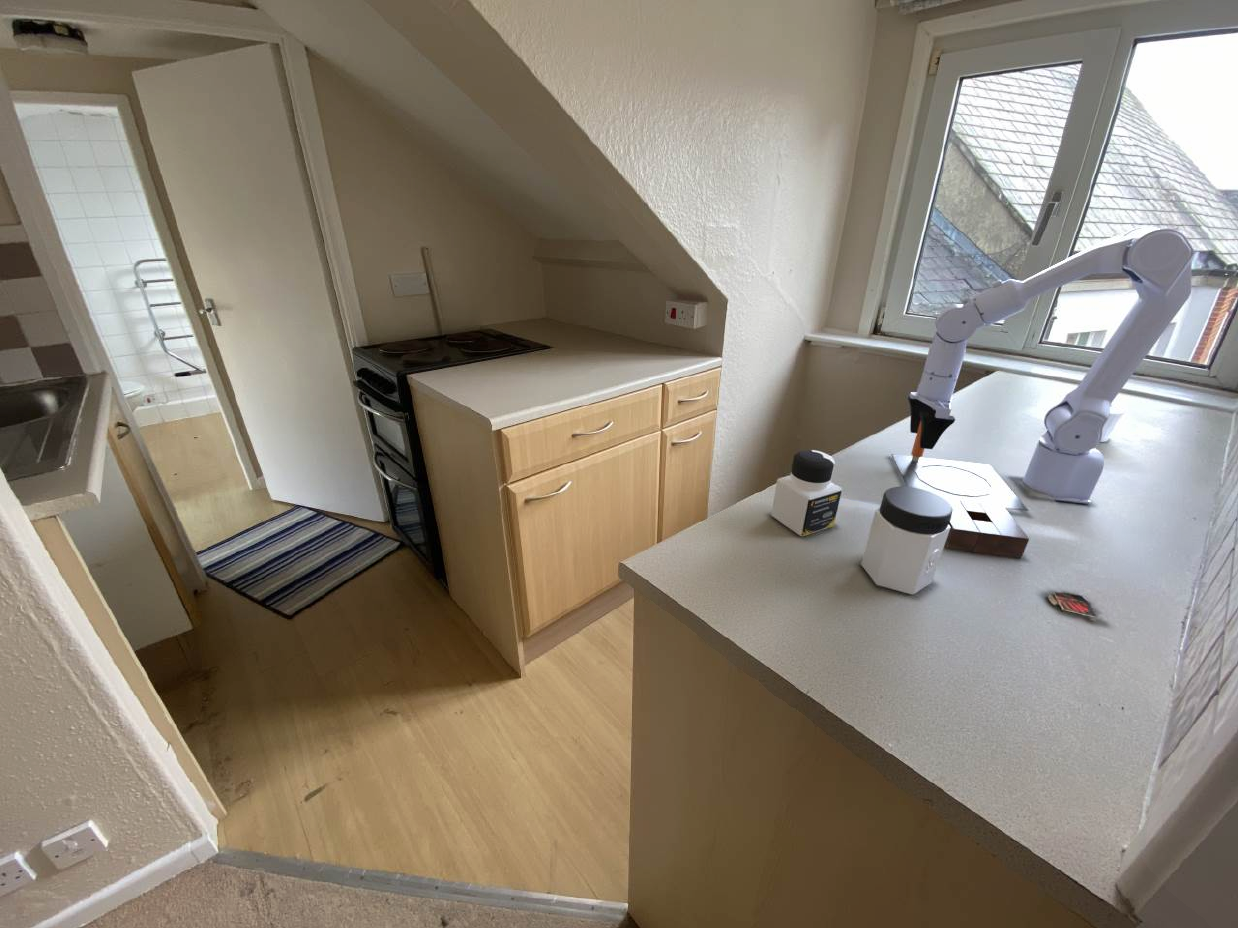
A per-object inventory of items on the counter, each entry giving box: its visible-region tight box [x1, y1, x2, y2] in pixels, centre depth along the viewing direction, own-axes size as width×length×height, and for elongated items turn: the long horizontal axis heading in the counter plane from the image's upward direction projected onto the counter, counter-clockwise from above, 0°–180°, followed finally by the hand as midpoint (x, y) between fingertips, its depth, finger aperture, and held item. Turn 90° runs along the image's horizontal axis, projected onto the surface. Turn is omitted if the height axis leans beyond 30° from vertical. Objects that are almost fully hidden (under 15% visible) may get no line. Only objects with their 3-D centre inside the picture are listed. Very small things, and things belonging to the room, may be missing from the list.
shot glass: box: [1099, 405, 1125, 443], centre depth 118 cm, size 7×7×7 cm
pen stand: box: [944, 498, 1030, 559], centre depth 83 cm, size 10×10×4 cm
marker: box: [910, 421, 925, 462], centre depth 103 cm, size 2×2×10 cm
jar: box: [860, 486, 953, 596], centre depth 72 cm, size 9×8×12 cm
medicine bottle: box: [771, 449, 843, 537], centre depth 84 cm, size 7×7×12 cm
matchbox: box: [1046, 591, 1100, 622], centre depth 68 cm, size 5×5×1 cm
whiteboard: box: [891, 453, 1029, 512], centre depth 98 cm, size 18×18×1 cm
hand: (920, 440), depth 103 cm, fingers open, 7 cm apart
